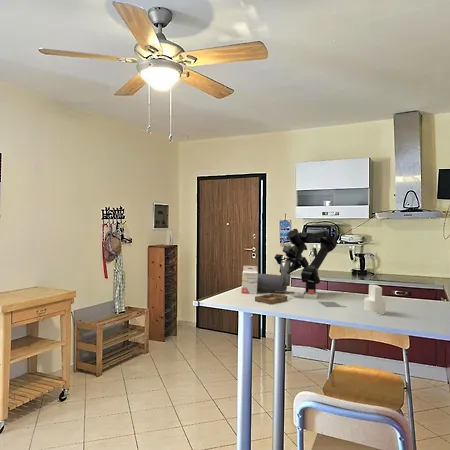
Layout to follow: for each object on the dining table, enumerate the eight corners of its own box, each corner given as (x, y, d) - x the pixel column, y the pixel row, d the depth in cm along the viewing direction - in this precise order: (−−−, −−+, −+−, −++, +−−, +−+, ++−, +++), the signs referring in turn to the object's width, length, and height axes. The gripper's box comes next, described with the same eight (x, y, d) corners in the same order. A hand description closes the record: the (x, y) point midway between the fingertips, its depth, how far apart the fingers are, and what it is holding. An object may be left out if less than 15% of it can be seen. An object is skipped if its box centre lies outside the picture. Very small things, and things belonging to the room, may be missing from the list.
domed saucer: (273, 294, 219) (274, 292, 219) (286, 295, 217) (286, 294, 217) (270, 296, 213) (270, 295, 213) (283, 298, 210) (283, 296, 210)
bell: (287, 284, 212) (288, 258, 212) (291, 286, 207) (292, 259, 207) (279, 284, 211) (279, 258, 210) (282, 286, 206) (283, 259, 206)
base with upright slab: (361, 310, 187) (362, 284, 187) (380, 310, 187) (381, 284, 187) (367, 314, 178) (368, 287, 178) (388, 315, 178) (389, 288, 178)
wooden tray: (272, 297, 210) (272, 293, 210) (287, 300, 203) (287, 296, 203) (254, 301, 201) (255, 296, 201) (269, 304, 194) (269, 299, 194)
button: (308, 293, 211) (308, 289, 211) (314, 293, 210) (314, 289, 210) (307, 294, 208) (307, 290, 208) (313, 294, 207) (313, 290, 207)
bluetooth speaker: (286, 291, 231) (287, 274, 231) (285, 294, 222) (286, 276, 222) (247, 289, 236) (248, 271, 236) (244, 291, 227) (245, 273, 227)
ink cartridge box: (241, 293, 221) (242, 266, 221) (241, 291, 226) (242, 265, 226) (257, 294, 220) (257, 267, 220) (257, 292, 225) (258, 266, 225)
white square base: (306, 298, 213) (306, 292, 213) (317, 299, 211) (317, 293, 210) (304, 300, 207) (304, 294, 207) (315, 301, 205) (316, 295, 205)
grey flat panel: (317, 304, 198) (317, 301, 198) (337, 304, 199) (337, 301, 199) (326, 309, 186) (326, 306, 186) (347, 309, 187) (347, 306, 187)
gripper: (276, 239, 218) (263, 260, 211) (306, 241, 205) (292, 264, 197) (285, 253, 224) (272, 274, 216) (314, 256, 211) (301, 279, 203)
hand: (284, 272), depth 208 cm, fingers closed on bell, 5 cm apart
